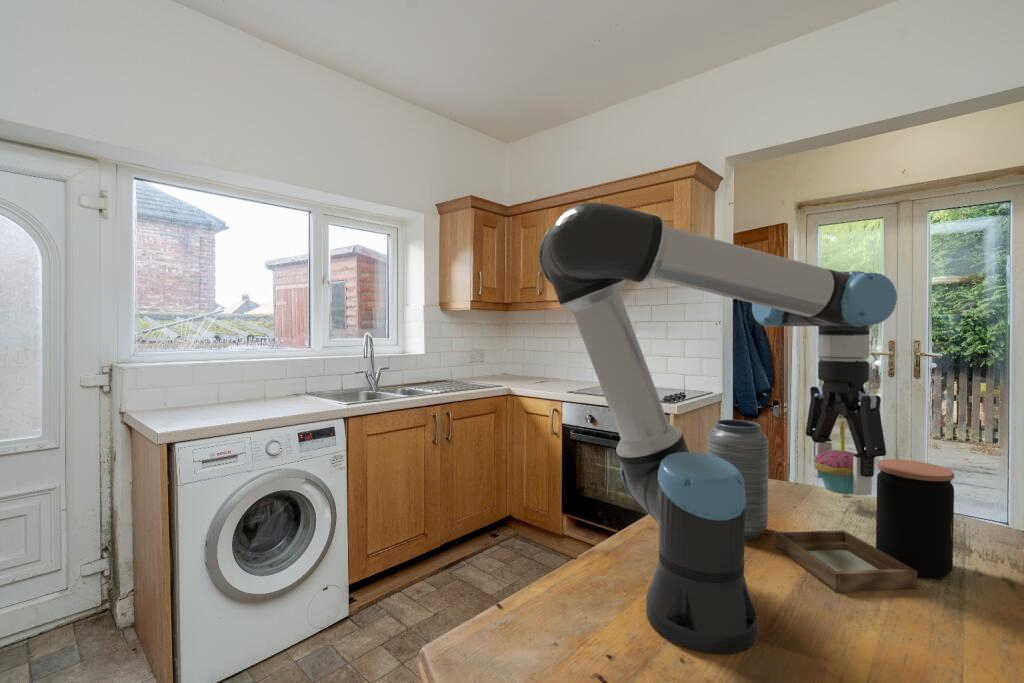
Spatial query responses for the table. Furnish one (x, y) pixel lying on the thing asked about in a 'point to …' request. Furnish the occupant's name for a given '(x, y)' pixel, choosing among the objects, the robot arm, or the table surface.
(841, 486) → the cupcake
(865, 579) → the walled box
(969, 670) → the table surface
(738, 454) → the vase
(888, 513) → the coffee jar
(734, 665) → the table surface
